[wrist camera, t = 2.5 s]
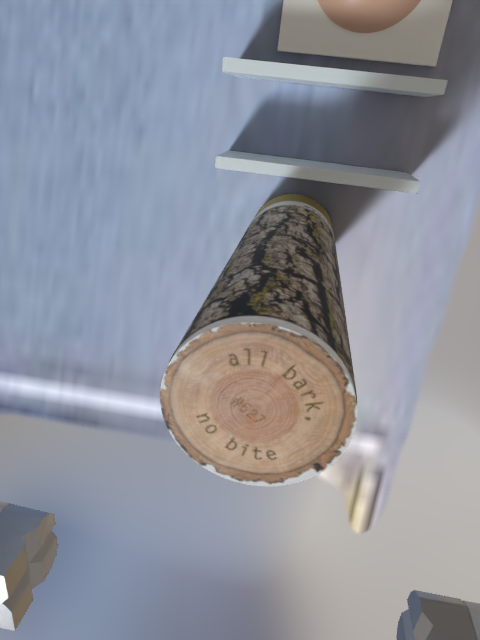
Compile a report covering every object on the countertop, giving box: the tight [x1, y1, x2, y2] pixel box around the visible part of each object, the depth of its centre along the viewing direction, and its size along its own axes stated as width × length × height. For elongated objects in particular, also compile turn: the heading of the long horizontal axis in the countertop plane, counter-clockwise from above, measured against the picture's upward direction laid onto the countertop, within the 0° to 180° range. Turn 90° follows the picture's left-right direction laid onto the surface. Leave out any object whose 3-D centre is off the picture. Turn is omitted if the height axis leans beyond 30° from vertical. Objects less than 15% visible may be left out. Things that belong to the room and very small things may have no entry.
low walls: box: [215, 57, 448, 194], centre depth 31 cm, size 7×14×5 cm, turn 84°
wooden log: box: [160, 194, 357, 486], centre depth 26 cm, size 7×7×25 cm
